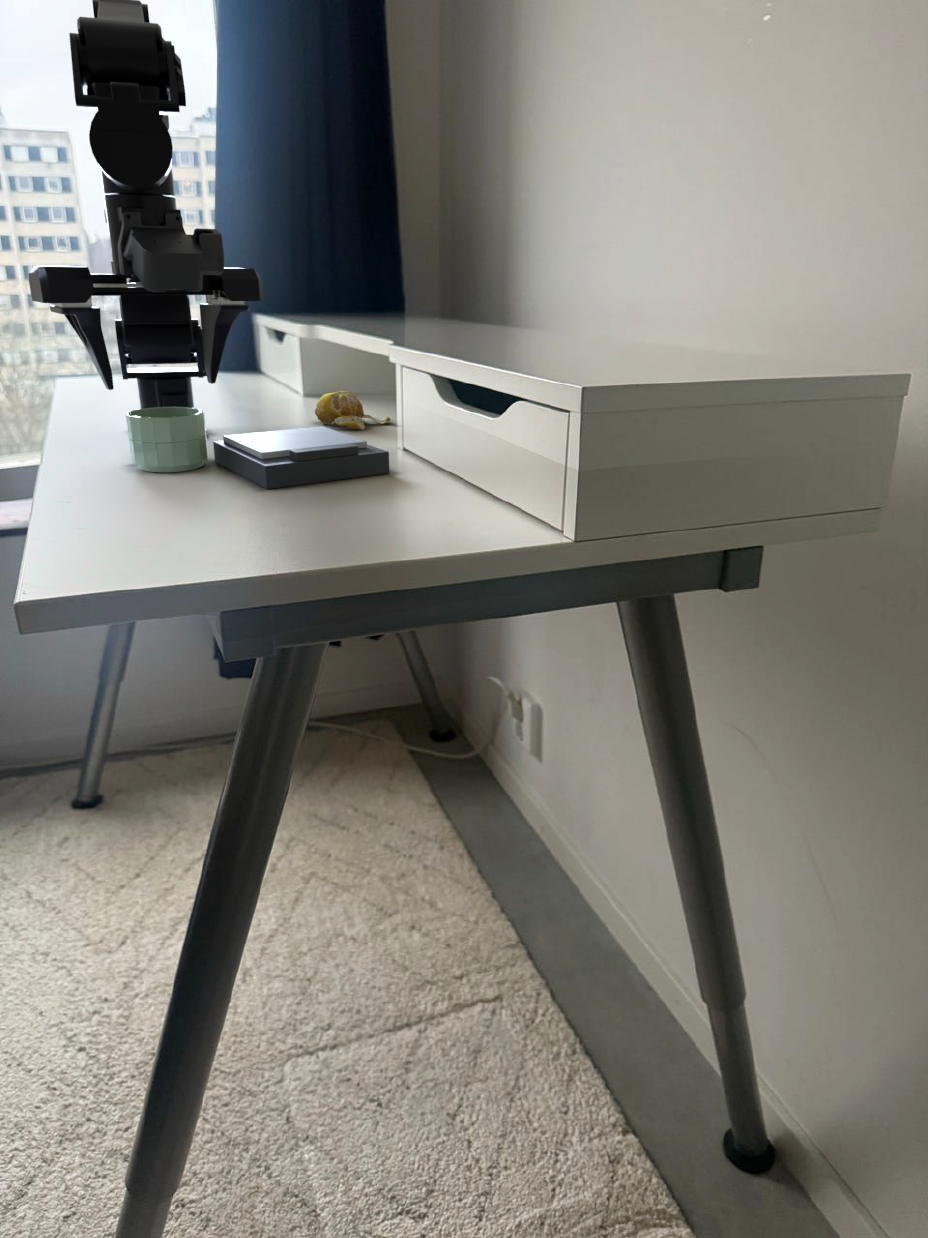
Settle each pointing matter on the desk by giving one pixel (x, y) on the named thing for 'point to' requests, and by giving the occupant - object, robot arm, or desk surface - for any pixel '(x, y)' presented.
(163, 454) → the bowl
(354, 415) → the fruit
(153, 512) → the desk surface
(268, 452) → the scale
